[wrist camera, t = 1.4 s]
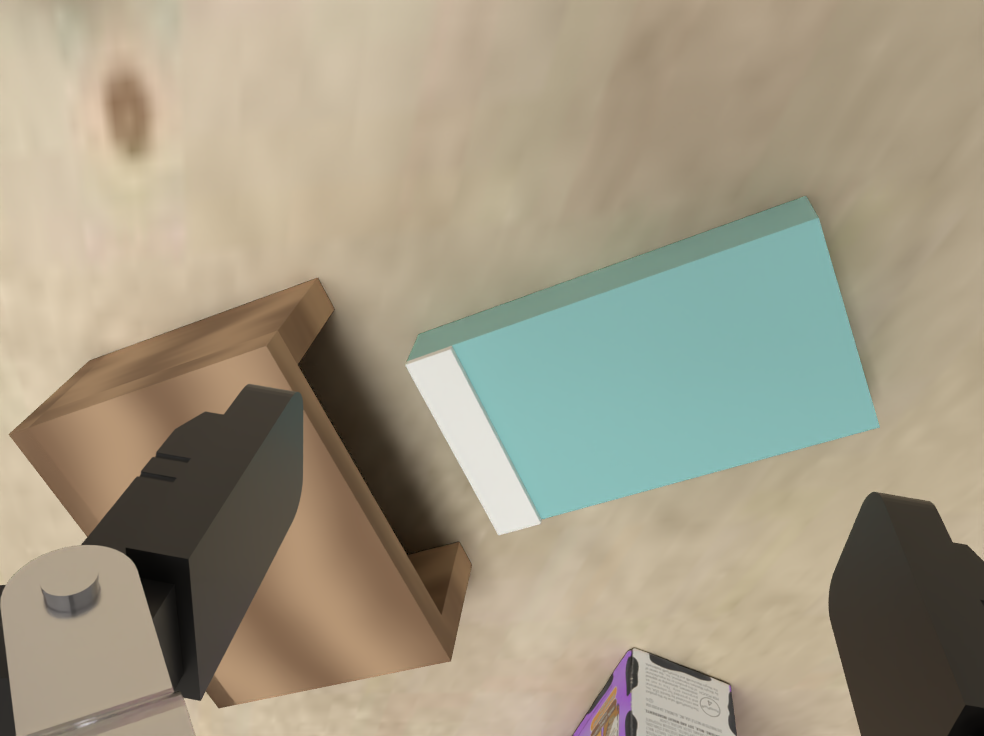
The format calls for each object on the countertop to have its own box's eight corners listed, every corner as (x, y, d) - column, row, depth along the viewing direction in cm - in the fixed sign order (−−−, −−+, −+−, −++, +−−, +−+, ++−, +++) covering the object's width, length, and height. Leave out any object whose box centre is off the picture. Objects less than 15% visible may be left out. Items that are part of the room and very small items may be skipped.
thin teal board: (803, 191, 32) (820, 220, 30) (861, 389, 36) (881, 431, 33) (420, 329, 37) (405, 365, 34) (506, 491, 41) (498, 535, 38)
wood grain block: (317, 277, 36) (266, 346, 31) (471, 564, 42) (450, 661, 37) (89, 360, 39) (8, 434, 34) (264, 614, 46) (218, 708, 41)
